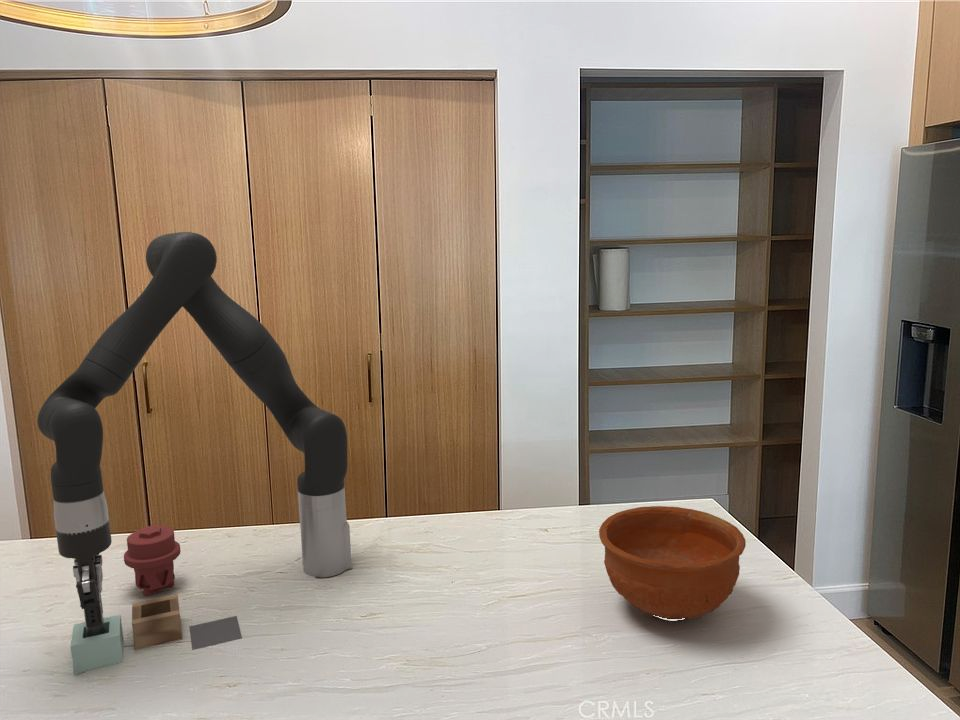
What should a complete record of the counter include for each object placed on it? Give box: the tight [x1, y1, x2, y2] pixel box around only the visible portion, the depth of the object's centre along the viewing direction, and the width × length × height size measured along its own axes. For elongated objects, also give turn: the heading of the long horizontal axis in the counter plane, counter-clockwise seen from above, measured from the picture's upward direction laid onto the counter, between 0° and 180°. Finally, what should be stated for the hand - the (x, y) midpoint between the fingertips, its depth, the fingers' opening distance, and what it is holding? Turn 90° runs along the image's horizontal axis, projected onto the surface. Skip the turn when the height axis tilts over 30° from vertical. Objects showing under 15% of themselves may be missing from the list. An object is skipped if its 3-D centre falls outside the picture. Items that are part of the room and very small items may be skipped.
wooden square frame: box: [131, 593, 183, 651], centre depth 128 cm, size 7×7×5 cm
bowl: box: [598, 505, 747, 620], centre depth 132 cm, size 25×25×15 cm
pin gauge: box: [83, 583, 105, 637], centre depth 121 cm, size 3×3×11 cm
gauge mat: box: [188, 615, 243, 651], centre depth 129 cm, size 8×8×1 cm
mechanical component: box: [123, 525, 182, 597], centre depth 144 cm, size 12×10×10 cm
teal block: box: [69, 614, 125, 675], centre depth 122 cm, size 7×7×5 cm
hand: (95, 620), depth 121 cm, fingers closed on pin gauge, 2 cm apart
